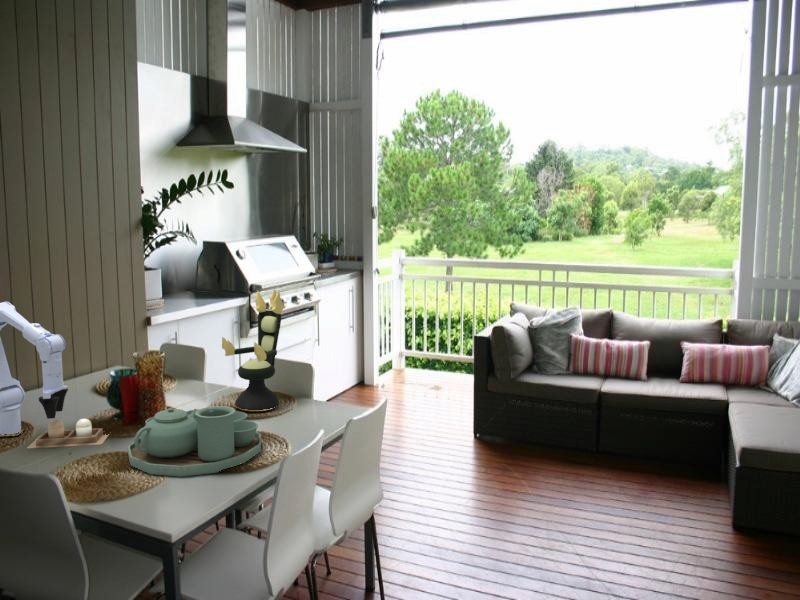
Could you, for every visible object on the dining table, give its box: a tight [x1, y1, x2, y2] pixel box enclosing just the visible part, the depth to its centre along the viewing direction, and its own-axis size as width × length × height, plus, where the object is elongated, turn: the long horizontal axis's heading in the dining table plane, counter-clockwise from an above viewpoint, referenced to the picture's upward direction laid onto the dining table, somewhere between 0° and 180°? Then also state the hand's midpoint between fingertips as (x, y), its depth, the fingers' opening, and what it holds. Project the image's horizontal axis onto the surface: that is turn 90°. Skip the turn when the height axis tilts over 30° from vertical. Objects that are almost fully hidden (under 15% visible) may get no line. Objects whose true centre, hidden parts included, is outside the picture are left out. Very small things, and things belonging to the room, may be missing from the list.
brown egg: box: [47, 419, 65, 439], centre depth 213 cm, size 5×5×7 cm
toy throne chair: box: [221, 288, 284, 410], centre depth 254 cm, size 19×22×45 cm
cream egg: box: [75, 418, 93, 437], centre depth 215 cm, size 5×5×7 cm
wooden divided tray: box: [25, 427, 110, 449], centre depth 214 cm, size 22×13×2 cm, turn 101°
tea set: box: [127, 405, 262, 478], centre depth 204 cm, size 40×40×16 cm
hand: (54, 414), depth 212 cm, fingers open, 7 cm apart
